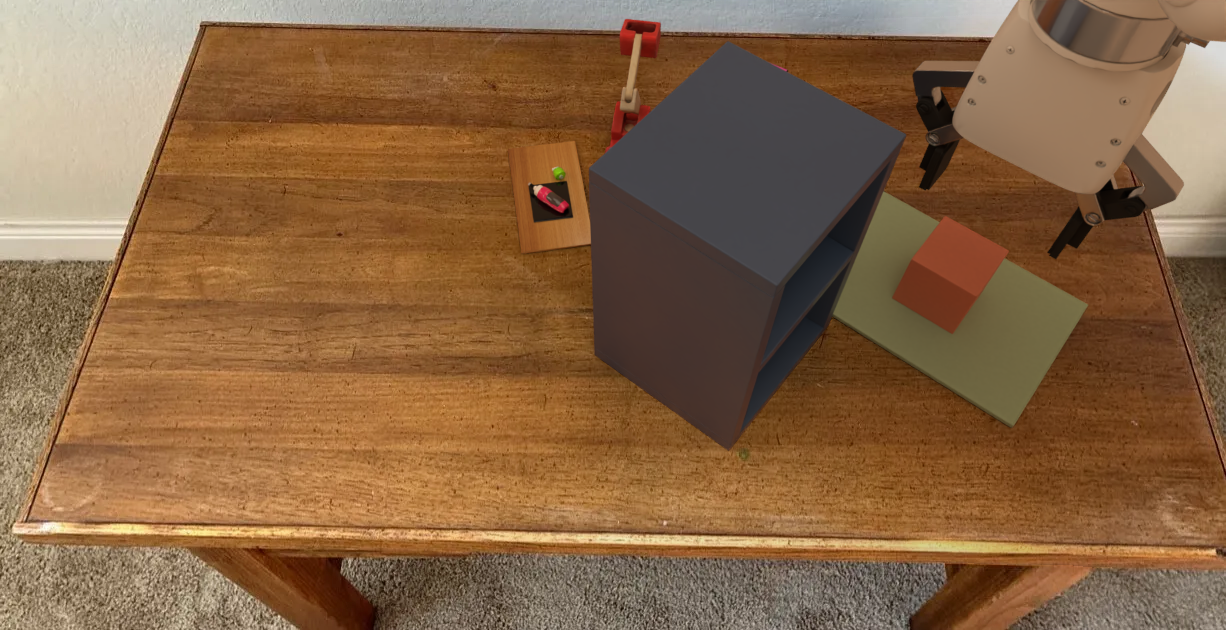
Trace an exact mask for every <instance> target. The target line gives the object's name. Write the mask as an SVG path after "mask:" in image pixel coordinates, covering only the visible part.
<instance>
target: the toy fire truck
mask: <svg viewBox="0 0 1226 630" xmlns="http://www.w3.org/2000/svg"><path fill="white" fill-rule="evenodd" d="M661 33H662V23H661V22H660V21H652V20H651V21H650V20H640V19H632V18H625V19H624V20H623V23H622V26H621V29H620V31H619V50H620V52H619V53H620V55H621V56H626V57H627V56H629V57H630V63H629V69H628V76H627V80H626V86H623V87H622V89H621V97H620V101H618V100H617V101H616V103H615V107H614V112H613V119H612V122H611V123H612V124H611V128H610V129H611V130H610V142H609V146H607V147H605V151H604V154H605V153H606V152H607V151H608V150H609V149H610V148H611V147H612V146H613V145H615V144H616V143H617V142H618V141H619V140H620V139H621V138H622V137H623V136H624V135H626V134H627V133H628V132H629V131H630V130H631V129H632V128H633V127H634V126H635V125H636V124H638V123H639V122H640V121H641V120H642V119H643V118H644V117H645V116H646V115H647V114H648V113H650V112H651V106H650V105H646V104H642V101H641V97H640V93H639V89H638V88H637V87H636V84H637V77H638V71H639V64H640V58H647V59H648V58H650V59H657V57H658V52H659V48H660V42H661V38H662V34H661Z"/></svg>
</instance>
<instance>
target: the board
mask: <svg viewBox="0 0 1226 630" xmlns="http://www.w3.org/2000/svg"><path fill="white" fill-rule="evenodd" d="M507 155H508V161H509V169H510V176H511V184H512V192H513V199H514V207H515V214H516V222H517V229H518V236H519V237H518V238H519V245H520V246H519V247H520V252H521V255H525V254H533V253H534V254H535V253H540V252H549V251H556V250H563V249H571V248H572V249H573V248H579V247H587V246H591V231H590V212H589V208H588V207H589V206H588V203H587V197H586V192H585V191H586V190H585V186H584V180H583V176H582V171H581V166H580V165H581V164H580V161H579V155H578V149H577V143H576V141H575V140H570V141H562V142H553V143H545V144H536V145H528V146H521V147H520V146H518V147H512V148H507Z"/></svg>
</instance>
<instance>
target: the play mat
mask: <svg viewBox="0 0 1226 630" xmlns="http://www.w3.org/2000/svg"><path fill="white" fill-rule="evenodd" d="M940 222H941V221H938V220H937V219H934V218H933V217H931V216H929V215H928V214H926V213H924V212H922V211H921V210H919V209H917V208H915V207H913V206H912V205H910V204H908V203H906V202H904V201H902V200H900V199H899V198H898V197H895V196H894V195H891V194H890V193H888V192H886V191H885V190H884V191H883V194H882V196H881V199H880V201H879V204H878V206H877V208H876V211H875V213H874V216H873V218H872V221H871V223H870V225H869V228H868V230H867V233H866V235H865V238H864V240H863V242H862V245H861V247H860V250H859V252H858V255H857V257H856V259H855V262H854V264H853V267H852V269H851V272H850V274H849V276H848V279H847V281H846V284H845V286H844V289H843V291H842V293H841V296H840V298H839V301H838V303H837V306H836V308H835V310H834V313H833V315H832V318H834V319H835V320H837V321H839V322H841V324H844V325H845V326H847V327H848V328H850V329H852V330H853V331H855V332H856V333H858V334H860V335H861V336H863V337H864V338H866V339H868V340H869V341H871V342H872V343H874V344H876V345H877V346H879V347H880V348H882V349H884V350H885V351H887V352H888V353H890V354H891V355H893V356H895V357H897V358H898V359H899V360H901V361H903V362H905V363H906V364H908V365H909V366H911V367H913V368H914V369H916V370H917V371H919V372H921V373H922V374H924V375H925V376H927V377H929V378H930V379H932V380H934V381H935V382H936V383H938V384H940V385H942V386H943V387H945V388H947V389H948V390H950V391H951V392H952V393H955V394H956V395H958V396H959V397H961V398H962V399H964V400H966V401H967V402H969V403H971V404H972V405H973V406H976V407H977V408H979V409H980V410H982V411H983V412H985V413H987V414H988V415H990V416H991V417H993V418H995V420H998V421H999V422H1001V423H1003V424H1004V425H1006V426H1008V427H1009V428H1010V429H1012V428H1014V426H1015V424H1016V423H1017V422H1018V420H1019V418H1020V416H1021V415H1022V413H1024V410H1025V409H1026V407H1027V406H1028V404H1029V403H1030V400H1031V399H1032V397H1033V395H1034V394H1035V392H1037V389H1038V388H1039V386H1040V384H1041V382H1042V381H1043V379H1044V378H1045V377H1046V374H1047V373H1048V372H1049V370H1050V368H1051V366H1052V365H1053V364H1054V361H1055V360H1056V358H1057V357H1058V355H1059V353H1060V352H1061V351H1062V349H1063V347H1064V345H1065V343H1066V342H1067V340H1068V339H1069V338H1070V336H1071V334H1072V333H1073V331H1074V329H1075V327H1076V326H1077V325H1078V322H1079V321H1080V319H1081V318H1082V317H1083V314H1085V311H1086V310H1087V308H1088V307H1089V304H1088V303H1086V302H1084V300H1083V301H1082V300H1081V299H1079V298H1077V297H1076V296H1074V295H1072V294H1070V293H1069V292H1066V291H1064V290H1063V289H1061V288H1060V287H1058V286H1055V285H1054V284H1052V283H1050V282H1049V281H1046V280H1045V279H1043V278H1041V277H1039V276H1037V275H1036V274H1034V273H1032V272H1030V271H1029V270H1027V269H1025V268H1023V267H1022V266H1019V265H1018V264H1016V263H1014V262H1012V261H1011V260H1008V259H1007V258H1006V257H1005V258H1004V260H1003V261H1002V263H1001V264H1000V266H999V267H998V269H997V270H996V272H995V273H994V275H993V277H992V278H991V280H990V281H989V283H988V284H987V286H986V287H985V289H984V290H983V292H982V293H981V294H980V296H979V297H978V299H977V300H976V302H975V303H974V304H973V306H972V307H971V309H970V310H969V311H968V313H967V314H966V316H965V317H964V319H963V320H962V321H961V323H960V324H959V326H958V327H957V329H956V330H955V331H954V333H953V334H951V333H949V332H948V331H946V330H944V329H943V328H941V327H939V326H938V325H936V324H934V323H933V322H931V321H929V320H928V319H926V318H924V317H923V316H921V315H919V314H918V313H916V312H914V311H913V310H911V309H909V308H908V307H906V306H904V305H903V304H901V303H899V302H898V301H896V300H894V299H893V298H892V297H893V295H894V293H895V291H896V289H897V287H898V285H899V283H900V281H901V279H902V277H903V275H904V273H905V271H906V269H907V267H908V265H909V263H910V261H911V259H912V258H913V256H914V255H915V254H916V253H917V251H918V250H919V249H920V247H921V246H922V245H923V244H924V242H925V241H926V240H927V238H928V237H929V236H930V234H931V233H932V232H933V231H934V229H935V228H936V227H937V225H938V224H939V223H940Z"/></svg>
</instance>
